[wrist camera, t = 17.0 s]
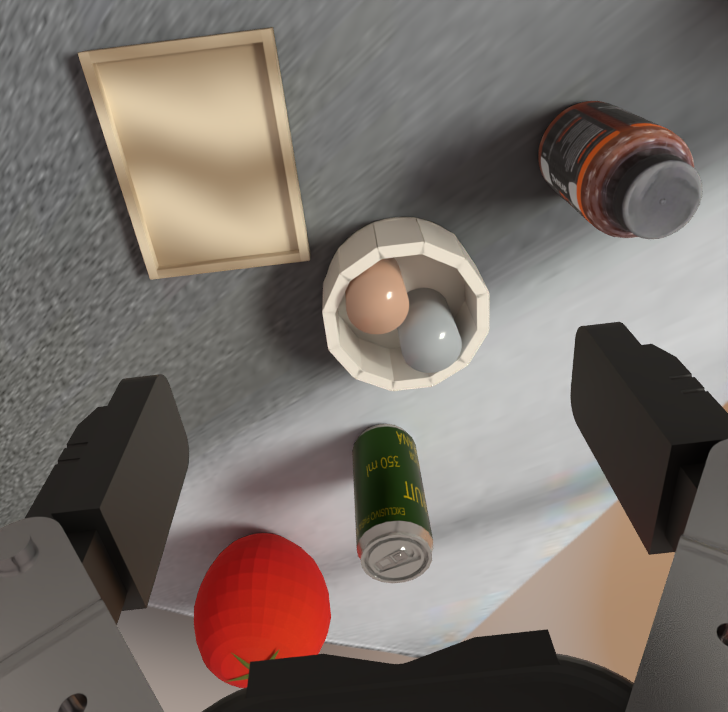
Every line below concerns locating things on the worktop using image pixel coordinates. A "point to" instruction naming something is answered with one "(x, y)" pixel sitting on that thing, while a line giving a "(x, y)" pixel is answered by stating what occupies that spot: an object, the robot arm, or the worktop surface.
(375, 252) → the bowl
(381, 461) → the beer can
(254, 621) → the red round fruit
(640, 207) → the supplement bottle
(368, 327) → the beige cylinder
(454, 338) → the gray metal cylinder
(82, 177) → the worktop surface
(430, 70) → the worktop surface
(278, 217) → the parts tray
